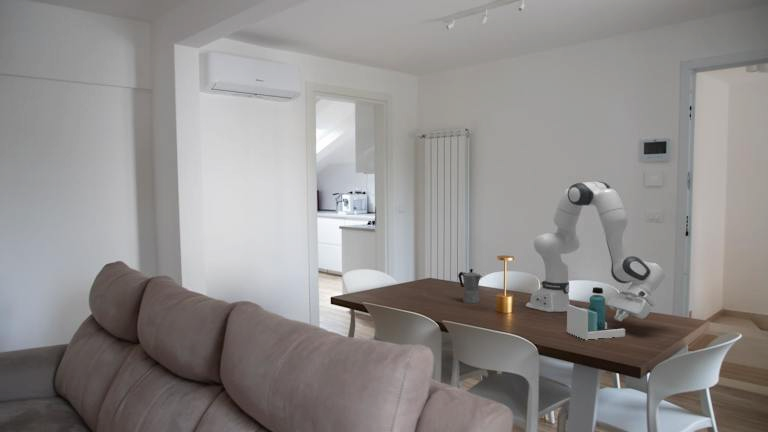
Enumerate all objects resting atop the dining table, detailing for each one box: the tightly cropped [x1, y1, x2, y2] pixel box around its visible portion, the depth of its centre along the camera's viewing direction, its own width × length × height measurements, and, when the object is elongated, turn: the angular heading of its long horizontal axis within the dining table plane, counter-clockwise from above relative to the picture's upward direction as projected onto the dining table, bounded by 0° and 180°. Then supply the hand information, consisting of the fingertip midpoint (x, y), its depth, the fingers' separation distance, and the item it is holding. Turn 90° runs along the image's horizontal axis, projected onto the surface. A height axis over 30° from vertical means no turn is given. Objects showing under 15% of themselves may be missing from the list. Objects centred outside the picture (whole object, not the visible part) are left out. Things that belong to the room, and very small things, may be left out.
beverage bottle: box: [588, 287, 606, 331], centre depth 222 cm, size 6×7×20 cm
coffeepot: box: [457, 268, 482, 304], centre depth 288 cm, size 15×9×18 cm, turn 44°
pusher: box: [580, 307, 597, 332], centre depth 222 cm, size 2×9×10 cm, turn 15°
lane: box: [566, 304, 626, 341], centre depth 222 cm, size 19×12×12 cm, turn 105°
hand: (617, 319), depth 225 cm, fingers closed
